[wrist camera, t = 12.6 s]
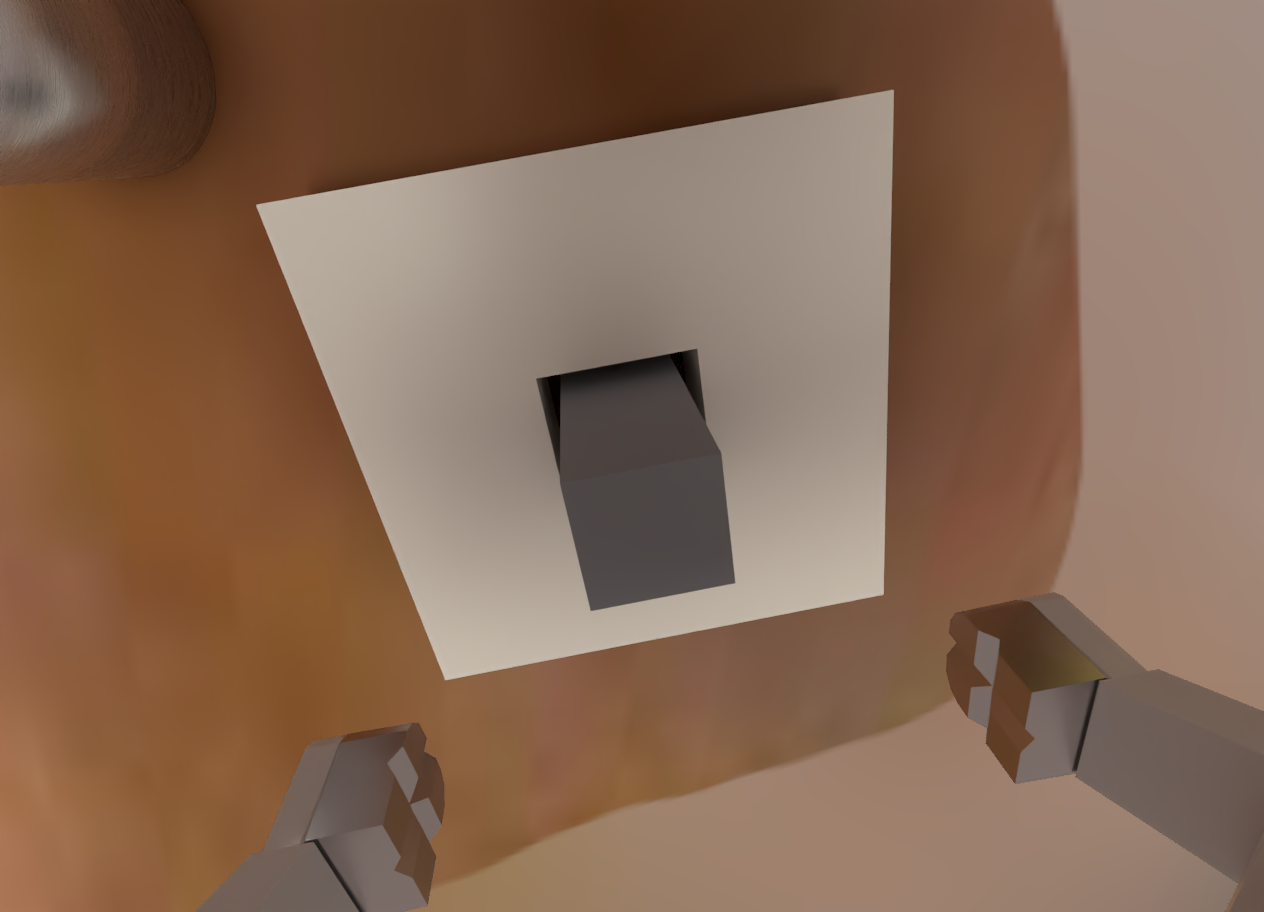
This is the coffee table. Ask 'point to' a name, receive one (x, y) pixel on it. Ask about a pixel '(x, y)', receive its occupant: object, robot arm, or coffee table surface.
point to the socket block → (612, 361)
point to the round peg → (100, 89)
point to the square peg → (641, 484)
